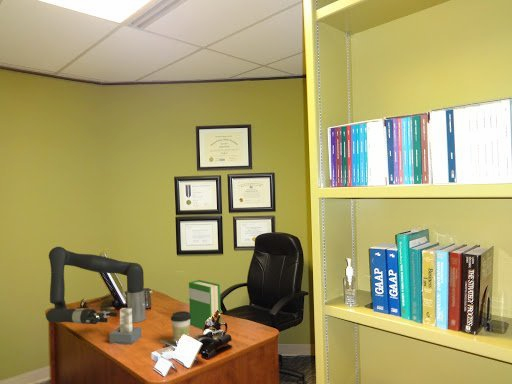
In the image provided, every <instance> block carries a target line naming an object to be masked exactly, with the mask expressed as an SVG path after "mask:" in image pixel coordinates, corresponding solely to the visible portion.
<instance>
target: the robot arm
mask: <svg viewBox="0 0 512 384" xmlns="http://www.w3.org/2000/svg"><path fill="white" fill-rule="evenodd" d="M48 259H49V263H50V285H49V287H50V288H49V302H50V304H53V305H54V307H53V308H50V309H49V310H48V311H46V314H45V319H46V320H47V322H49V323H52V324H53V323H55V324H56V323H69V324H70V323H71V324H72V323H73V324H74V323H75V324H80V325H81V324H83V325H87V324H88V325H97V324H100V323H105V324H106V323H108V320H109V319H108V318H109V317H111V318H116V317H117V316H118V312H116V311H113V310H111V309H110V310H109V309H101V310H100V311H96V310H95V309H94V308H68V307H67V305H66V299H65V292H66V290H65V289H66V288H65V266H71V267H75V268H79V269H83V270H86V271H90V272H95V273H99V274H119V275H123V276H126V284H127V285H126V290H127V293H126V294H127V297H126V298H127V308H132V324H133V323H139V322H142V321H145V320H146V319H147V317H146V303H145V295H144V294H145V293H144V292H145V289H144V287H145V286H144V285H145V284H144V281H145V280H144V278H145V277H144V269H143V266H142V265H141V264H139V263H137V262H129V261H128V262H127V261H121V260H117V259H115V258H114V259H113V258H112V257H111V258H110V257H107V256H104V255H103V256H102V255H96V254H89V253H77V252H73V251H70V250H67V249H65V248H64V247H62V246H54V247H53V248H52V249H51V250H50V251H49V253H48Z"/></svg>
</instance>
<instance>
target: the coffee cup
mask: <svg viewBox="0 0 512 384" xmlns="http://www.w3.org/2000/svg"><path fill="white" fill-rule="evenodd" d="M190 318H191V315H190V311H177V312H174V313H172V315H171V317H170V320H171V324H172V325H171V327H172V333H173V339H174V342H175V341H177V342H178V341H179V339H180V338H181V336H182V335H183V334H185V335H187V336H189V337H190V332H191V331H190V330H191V325H190Z"/></svg>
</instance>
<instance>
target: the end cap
mask: <svg viewBox="0 0 512 384" xmlns="http://www.w3.org/2000/svg"><path fill="white" fill-rule="evenodd" d="M132 329H133V330H132V331H131V332H129V333H127V332H120V326H119V327H117V328H115V329H114V330H112V331H111V332H110V333H109V334H108V335H109V344H110V343H117V344H116V345H127V344H130V346H132V345H133V344H135V343H136V342H137V341H138V340H139V338H140V339H141V338H142V335H143V334H142V327H139V326H132ZM135 341H136V342H135Z"/></svg>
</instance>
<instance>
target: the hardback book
mask: <svg viewBox="0 0 512 384" xmlns="http://www.w3.org/2000/svg"><path fill="white" fill-rule="evenodd" d="M188 294H189V295H188V297H189V298H188V301H189V302H188V303H189V304H188V305H189V313H190V315H191V318H190V326H193V327H195V328H197V329H201V330H203V329H204V325H205V321H206V320H207V319H208V318H209V317H211V316H213V315H214V314H215V312H216V311H217V310H218V311H219V313H220V319H219V322H220V324H221V325H222V317H221V315H222V313H221V311H222V309H221V285H220V284H219V283H217V282H216V283H215V282H210V281H207V280H201V279H196V280H193V281H189V282H188Z"/></svg>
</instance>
